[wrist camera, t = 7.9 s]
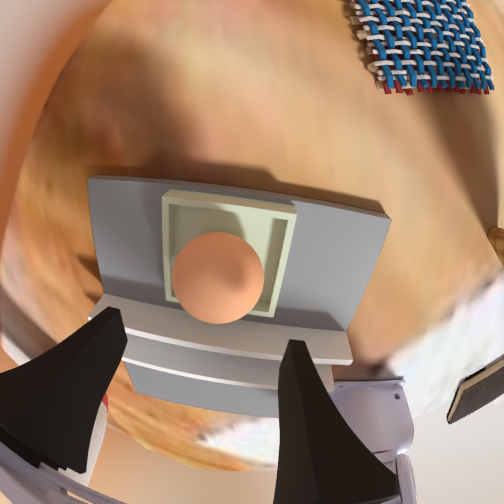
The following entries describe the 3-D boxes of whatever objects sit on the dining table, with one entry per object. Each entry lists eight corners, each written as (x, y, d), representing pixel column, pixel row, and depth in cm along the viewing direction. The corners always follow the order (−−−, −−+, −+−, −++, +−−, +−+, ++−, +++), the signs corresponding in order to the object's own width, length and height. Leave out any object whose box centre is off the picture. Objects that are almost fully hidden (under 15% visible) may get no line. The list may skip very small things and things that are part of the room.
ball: (271, 224, 16) (271, 271, 11) (258, 292, 18) (254, 349, 14) (186, 212, 16) (155, 254, 11) (185, 281, 18) (163, 333, 14)
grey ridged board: (386, 213, 16) (411, 241, 13) (296, 412, 29) (296, 439, 26) (94, 174, 16) (59, 193, 13) (138, 386, 29) (129, 411, 25)
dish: (295, 205, 15) (297, 214, 14) (273, 304, 19) (273, 317, 18) (170, 189, 15) (162, 196, 14) (171, 288, 19) (166, 300, 18)
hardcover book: (458, 380, 27) (463, 392, 25) (551, 317, 21) (556, 325, 19) (445, 416, 34) (448, 425, 32) (527, 365, 28) (531, 373, 26)
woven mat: (370, 98, 13) (383, 97, 11) (318, -39, 8) (323, -53, 7) (485, 96, 11) (502, 98, 9) (443, -25, 6) (456, -32, 5)
